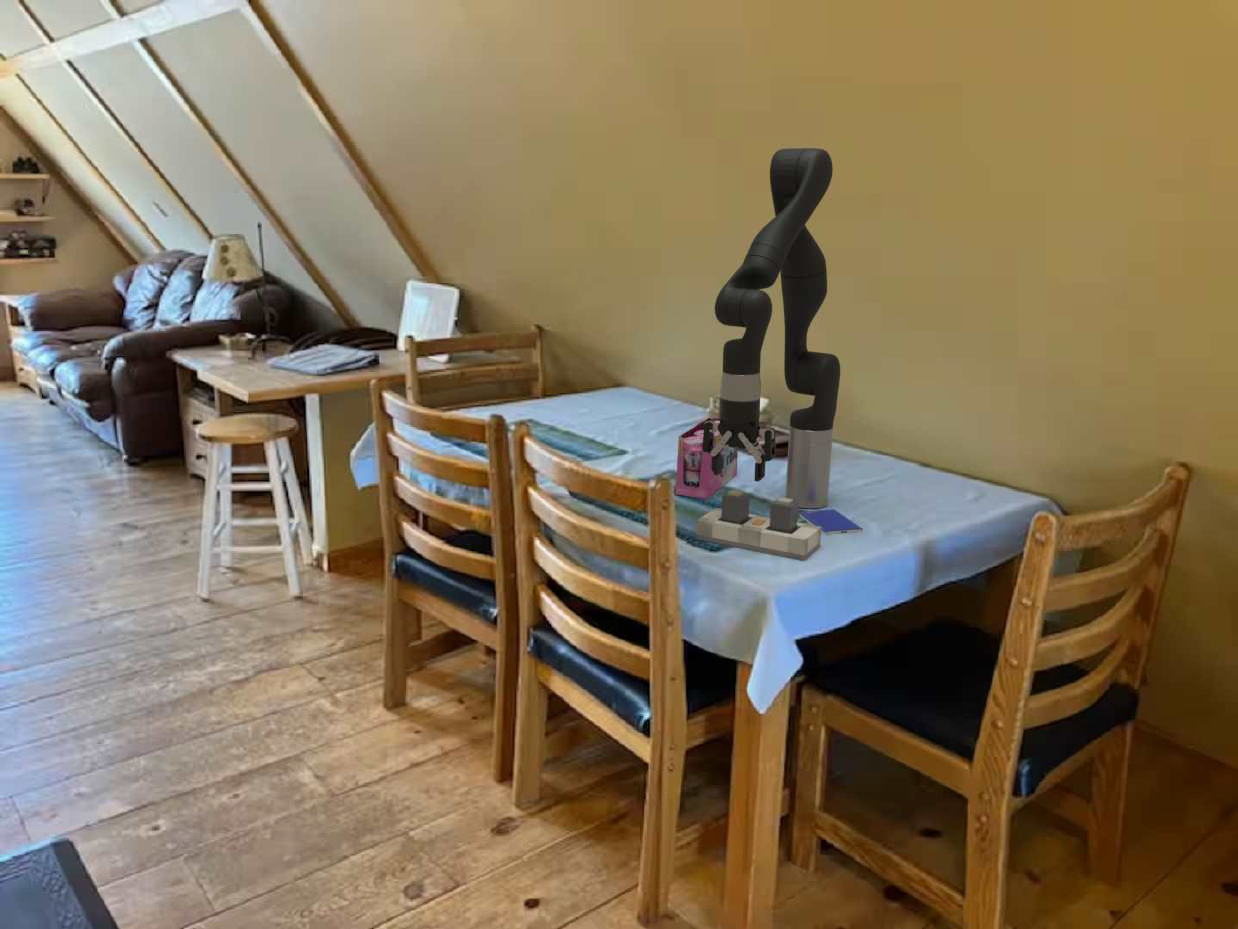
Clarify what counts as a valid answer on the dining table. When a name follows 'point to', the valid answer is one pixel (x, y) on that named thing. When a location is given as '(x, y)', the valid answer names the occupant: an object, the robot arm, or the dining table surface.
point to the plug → (735, 507)
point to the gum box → (702, 464)
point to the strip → (759, 535)
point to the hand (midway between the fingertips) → (737, 477)
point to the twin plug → (784, 515)
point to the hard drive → (830, 522)
